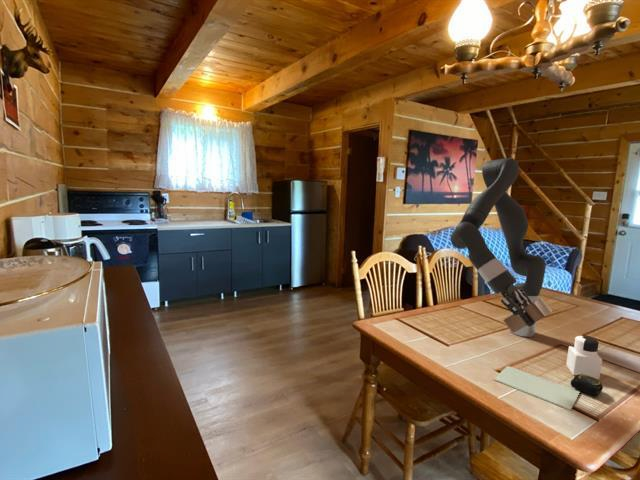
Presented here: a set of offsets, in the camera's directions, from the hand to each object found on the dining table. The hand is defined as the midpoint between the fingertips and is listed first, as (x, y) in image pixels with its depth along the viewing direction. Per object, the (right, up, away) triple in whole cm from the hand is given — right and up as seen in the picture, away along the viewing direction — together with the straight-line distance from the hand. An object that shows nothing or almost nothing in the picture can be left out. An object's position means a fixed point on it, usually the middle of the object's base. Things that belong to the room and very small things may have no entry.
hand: (534, 322), depth 104 cm
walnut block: (-4, -2, +5) cm, 7 cm away
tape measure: (+15, -21, -1) cm, 26 cm away
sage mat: (+1, -20, +1) cm, 20 cm away
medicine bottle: (+22, -19, +10) cm, 31 cm away
